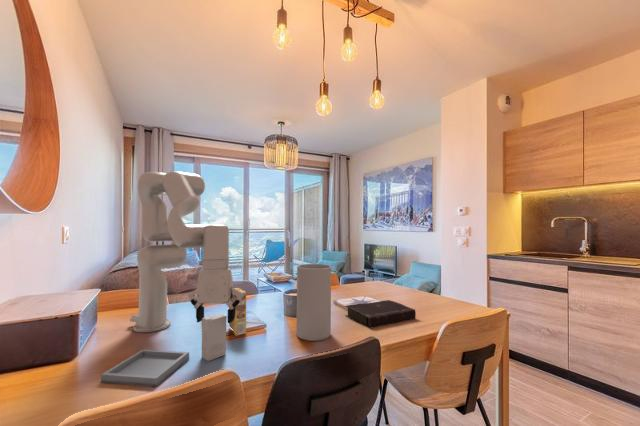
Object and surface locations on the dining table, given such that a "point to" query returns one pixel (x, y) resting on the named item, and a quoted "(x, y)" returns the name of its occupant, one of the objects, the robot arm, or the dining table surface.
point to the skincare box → (213, 336)
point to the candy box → (239, 315)
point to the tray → (145, 368)
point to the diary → (380, 313)
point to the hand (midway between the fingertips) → (215, 321)
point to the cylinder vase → (313, 302)
